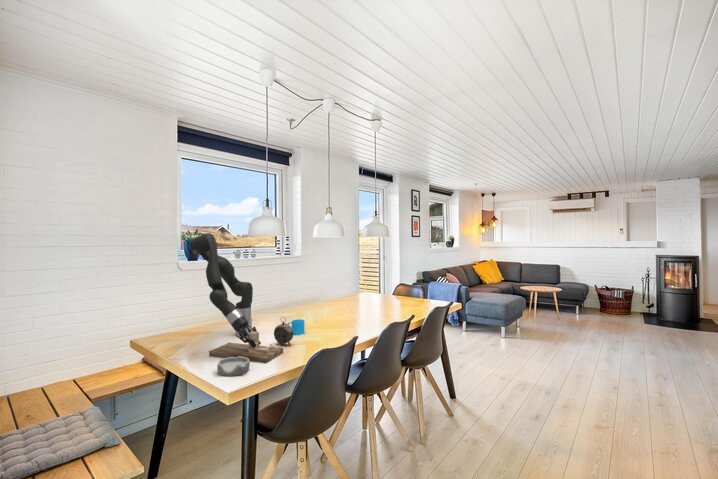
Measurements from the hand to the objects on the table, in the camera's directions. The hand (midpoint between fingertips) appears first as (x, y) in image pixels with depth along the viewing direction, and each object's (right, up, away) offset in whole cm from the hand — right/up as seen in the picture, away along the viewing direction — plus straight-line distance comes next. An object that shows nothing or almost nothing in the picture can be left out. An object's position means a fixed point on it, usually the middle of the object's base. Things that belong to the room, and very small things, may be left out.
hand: (257, 345), depth 178 cm
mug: (+11, -6, +45) cm, 47 cm away
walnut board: (-7, -6, +4) cm, 10 cm away
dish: (-6, -6, -18) cm, 20 cm away
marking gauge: (+2, -3, +3) cm, 5 cm away
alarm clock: (+9, -6, +20) cm, 23 cm away
